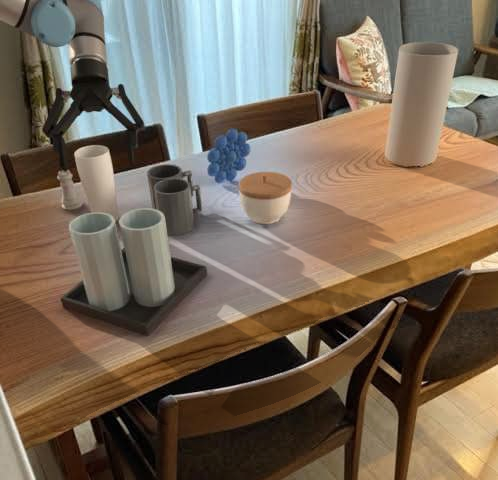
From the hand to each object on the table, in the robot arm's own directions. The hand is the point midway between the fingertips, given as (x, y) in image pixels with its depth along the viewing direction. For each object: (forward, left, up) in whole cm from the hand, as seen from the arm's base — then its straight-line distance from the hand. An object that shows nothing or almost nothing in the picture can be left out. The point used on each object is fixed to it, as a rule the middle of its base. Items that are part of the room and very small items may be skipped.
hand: (97, 166), depth 109 cm
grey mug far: (+12, +8, -11) cm, 18 cm away
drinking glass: (+2, -3, -11) cm, 11 cm away
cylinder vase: (+52, +54, -11) cm, 76 cm away
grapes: (+16, +25, -11) cm, 32 cm away
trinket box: (+32, +12, -11) cm, 36 cm away
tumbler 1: (+20, -25, -11) cm, 34 cm away
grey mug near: (+17, +2, -11) cm, 21 cm away
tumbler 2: (+26, -21, -11) cm, 35 cm away
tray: (+23, -21, -11) cm, 33 cm away
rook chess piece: (-9, -1, -11) cm, 14 cm away
